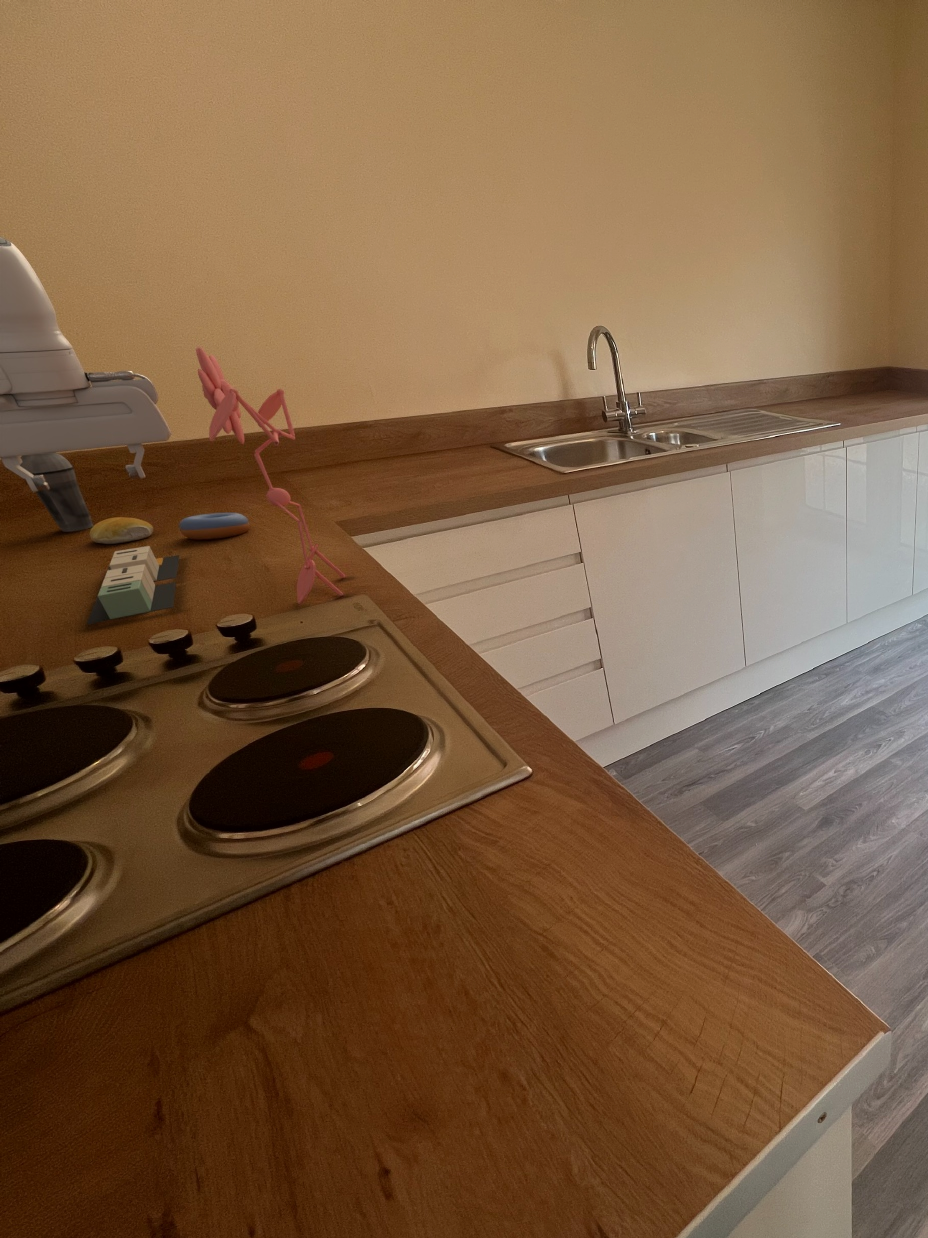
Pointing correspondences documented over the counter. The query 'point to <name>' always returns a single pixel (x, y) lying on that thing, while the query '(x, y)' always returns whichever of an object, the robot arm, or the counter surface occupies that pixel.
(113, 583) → the white slotted box
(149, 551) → the off-white marked cube
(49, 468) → the beverage cup
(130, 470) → the robot arm
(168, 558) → the mats
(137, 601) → the slotted green block
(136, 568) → the white slotted cube
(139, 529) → the bread roll
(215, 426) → the figurine
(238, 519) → the doughnut
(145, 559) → the slotted cream cube
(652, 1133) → the counter surface
